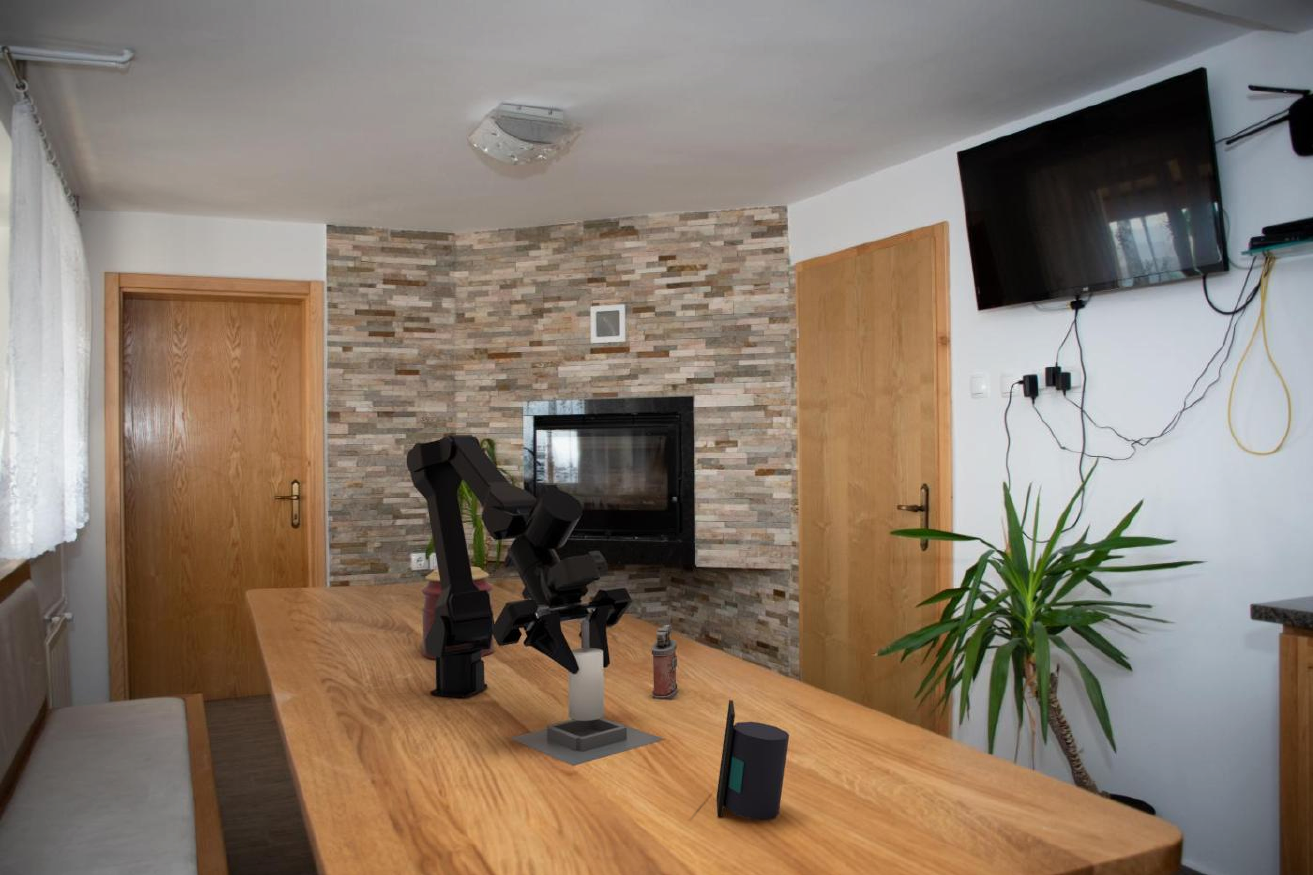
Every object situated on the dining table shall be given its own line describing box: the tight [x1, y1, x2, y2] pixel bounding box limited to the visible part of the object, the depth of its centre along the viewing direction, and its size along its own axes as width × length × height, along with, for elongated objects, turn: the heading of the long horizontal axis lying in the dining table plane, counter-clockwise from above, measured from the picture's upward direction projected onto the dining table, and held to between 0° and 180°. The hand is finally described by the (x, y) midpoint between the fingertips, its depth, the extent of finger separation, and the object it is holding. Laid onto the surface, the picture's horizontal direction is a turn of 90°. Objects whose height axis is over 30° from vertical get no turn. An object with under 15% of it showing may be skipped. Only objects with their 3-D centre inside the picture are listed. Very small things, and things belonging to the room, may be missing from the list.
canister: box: [420, 566, 495, 660], centre depth 171 cm, size 13×13×18 cm
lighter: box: [651, 624, 678, 701], centre depth 139 cm, size 8×3×10 cm, turn 168°
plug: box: [567, 620, 605, 721], centre depth 118 cm, size 4×4×12 cm
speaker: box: [716, 699, 790, 821], centre depth 94 cm, size 8×6×10 cm
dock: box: [509, 716, 666, 767], centre depth 117 cm, size 14×14×2 cm
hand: (592, 668), depth 116 cm, fingers closed on plug, 4 cm apart
